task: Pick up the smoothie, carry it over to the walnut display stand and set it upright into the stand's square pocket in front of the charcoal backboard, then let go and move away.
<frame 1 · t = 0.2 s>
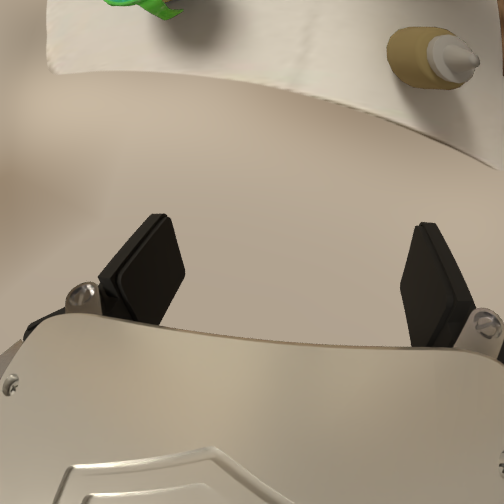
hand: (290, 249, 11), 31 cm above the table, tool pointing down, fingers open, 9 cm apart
squeeze bottle: (408, 57, 27), on the table
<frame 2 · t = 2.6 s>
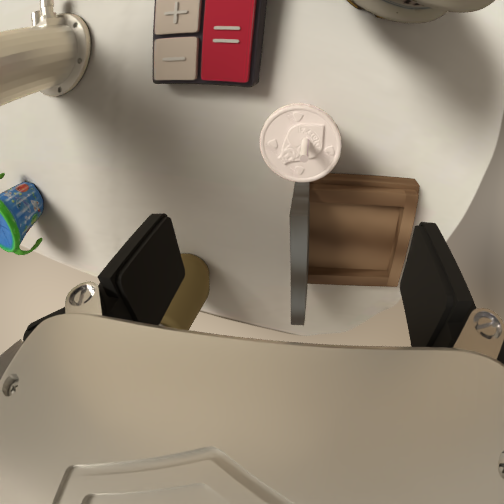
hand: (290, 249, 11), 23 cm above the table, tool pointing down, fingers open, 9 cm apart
smoothie: (303, 120, 29), on the table
display stand: (353, 227, 35), on the table
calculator: (214, 19, 23), on the table
snack cup: (33, 197, 43), on the table
squeeze bottle: (191, 267, 45), on the table
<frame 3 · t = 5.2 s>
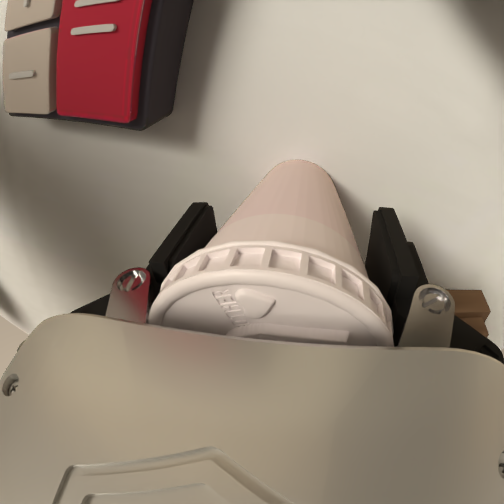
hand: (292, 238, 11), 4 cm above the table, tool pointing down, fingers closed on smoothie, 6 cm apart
smoothie: (298, 192, 15), on the table, touching gripper
display stand: (371, 352, 21), on the table
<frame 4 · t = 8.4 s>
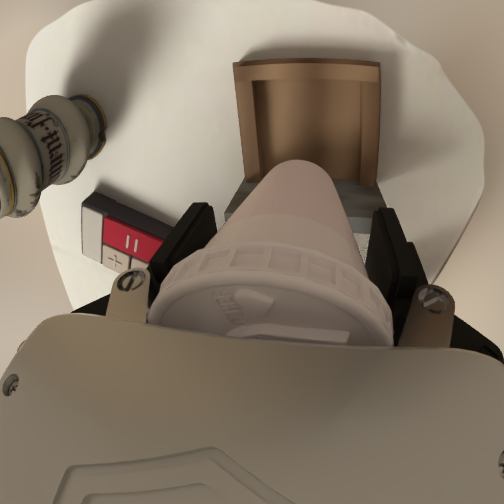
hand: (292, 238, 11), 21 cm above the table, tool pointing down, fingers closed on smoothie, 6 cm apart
smoothie: (298, 192, 15), point 17 cm above the table, touching gripper
display stand: (310, 123, 28), on the table
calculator: (131, 234, 43), on the table
apothecary jar: (82, 126, 33), on the table
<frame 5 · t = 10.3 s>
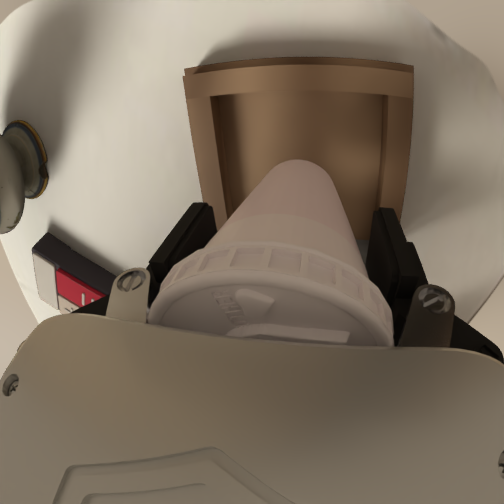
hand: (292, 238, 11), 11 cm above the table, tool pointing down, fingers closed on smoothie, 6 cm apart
smoothie: (298, 192, 15), point 6 cm above the table, touching gripper
display stand: (303, 155, 20), on the table
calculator: (90, 283, 35), on the table
apothecary jar: (24, 158, 24), on the table
when the fingers open (7 cm above the table, at t = 11.9 s): smoothie drops 1 cm, resting on display stand.
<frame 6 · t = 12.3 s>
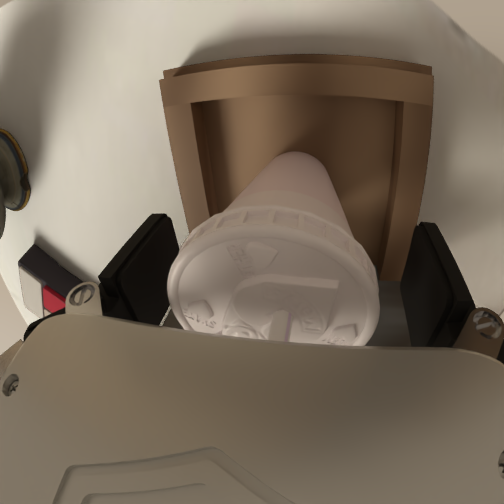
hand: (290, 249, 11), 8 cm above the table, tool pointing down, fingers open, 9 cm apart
smoothie: (296, 181, 16), point 2 cm above the table, touching display stand
display stand: (302, 169, 17), on the table
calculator: (77, 297, 33), on the table
apothecary jar: (7, 169, 22), on the table
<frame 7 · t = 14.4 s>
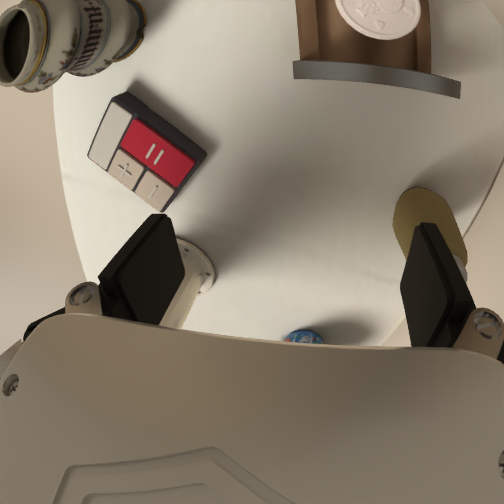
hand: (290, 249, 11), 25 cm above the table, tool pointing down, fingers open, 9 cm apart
smoothie: (363, 16, 20), point 2 cm above the table, touching display stand
display stand: (363, 18, 21), on the table
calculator: (149, 147, 38), on the table
snack cup: (305, 339, 56), on the table
apothecary jar: (117, 29, 27), on the table
squeeze bottle: (415, 205, 34), on the table
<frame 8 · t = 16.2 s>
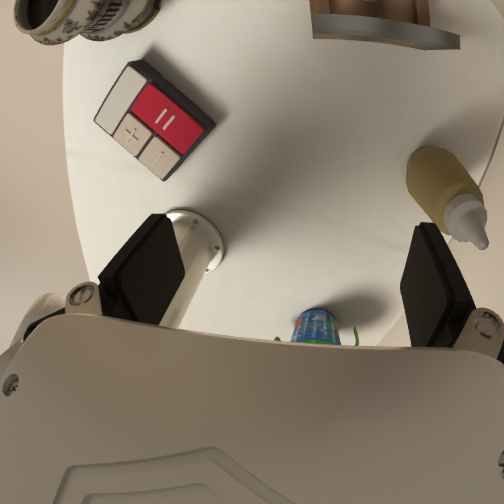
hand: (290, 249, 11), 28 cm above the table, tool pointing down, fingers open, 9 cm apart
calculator: (157, 116, 37), on the table
snack cup: (317, 319, 54), on the table
apothecary jar: (133, 2, 26), on the table
squeeze bottle: (425, 167, 33), on the table
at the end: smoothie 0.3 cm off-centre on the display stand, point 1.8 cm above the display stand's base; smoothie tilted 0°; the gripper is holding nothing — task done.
